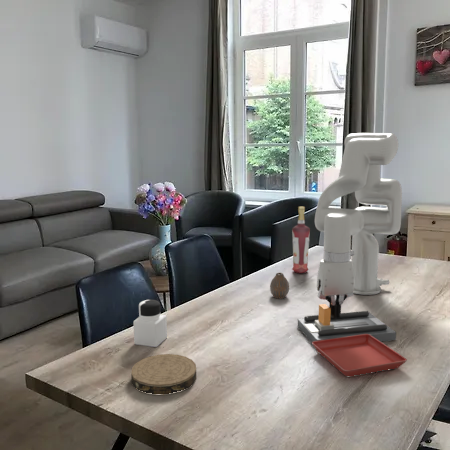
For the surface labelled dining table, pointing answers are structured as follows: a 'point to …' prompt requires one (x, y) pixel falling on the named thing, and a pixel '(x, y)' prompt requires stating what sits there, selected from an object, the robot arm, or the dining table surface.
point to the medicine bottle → (150, 324)
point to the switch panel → (347, 327)
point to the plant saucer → (359, 354)
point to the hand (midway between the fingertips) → (334, 316)
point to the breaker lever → (324, 318)
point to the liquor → (300, 244)
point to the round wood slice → (163, 374)
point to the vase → (279, 286)
